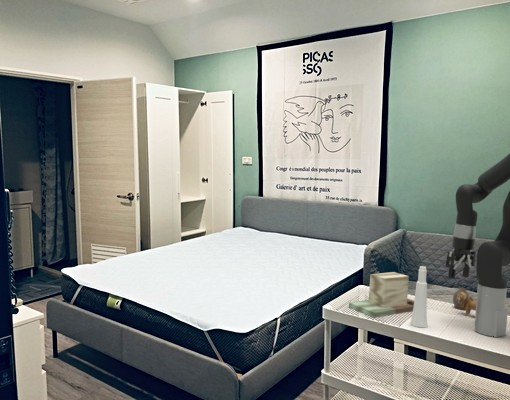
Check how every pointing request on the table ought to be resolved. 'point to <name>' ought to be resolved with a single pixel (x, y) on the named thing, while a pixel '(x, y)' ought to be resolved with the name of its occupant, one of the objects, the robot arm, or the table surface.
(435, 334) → the table surface
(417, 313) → the cosmetic bottle
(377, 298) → the maple block
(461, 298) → the lion figurine
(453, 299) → the vase
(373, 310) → the trap box
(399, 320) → the table surface
